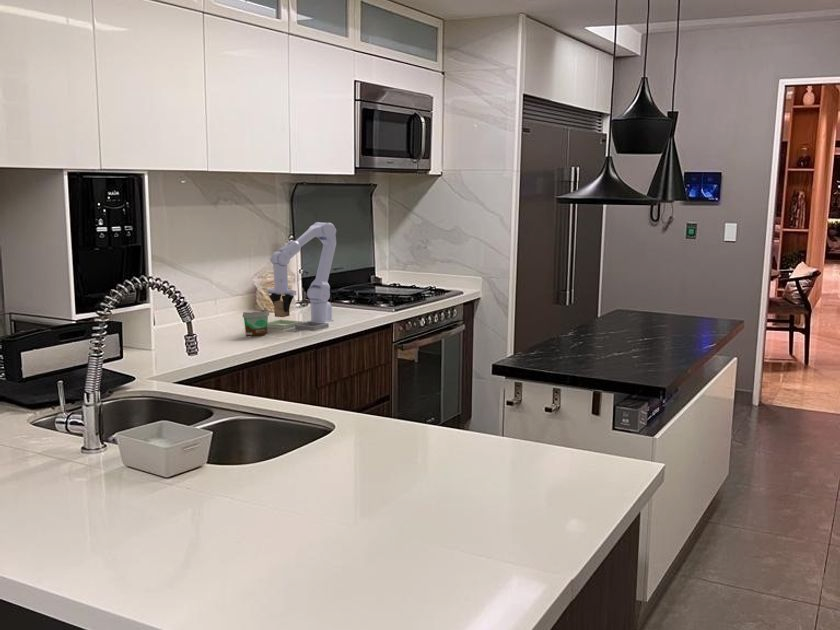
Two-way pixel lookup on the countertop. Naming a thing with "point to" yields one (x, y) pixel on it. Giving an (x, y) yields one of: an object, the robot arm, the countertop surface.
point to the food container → (256, 323)
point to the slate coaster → (294, 330)
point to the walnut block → (280, 309)
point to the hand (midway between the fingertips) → (282, 311)
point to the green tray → (282, 324)
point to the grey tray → (312, 326)
